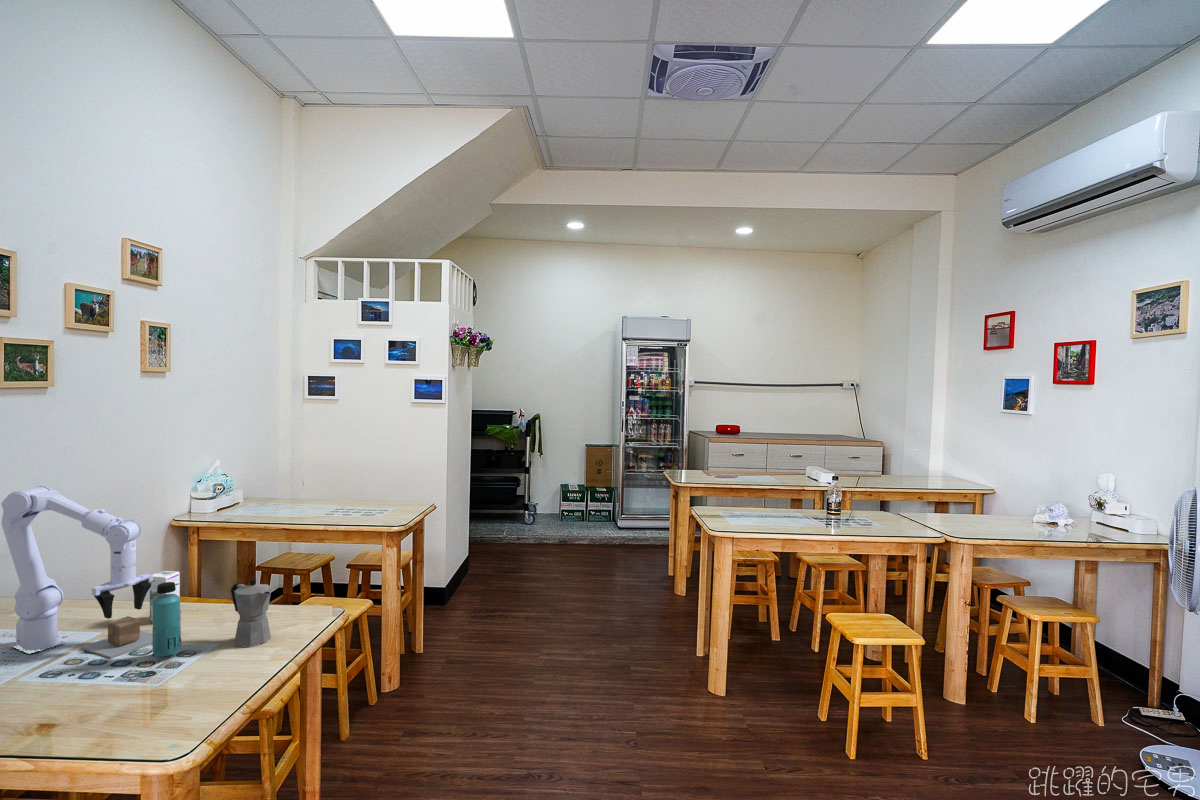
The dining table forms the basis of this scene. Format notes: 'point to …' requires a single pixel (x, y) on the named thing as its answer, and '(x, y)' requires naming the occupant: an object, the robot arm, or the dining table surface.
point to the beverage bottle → (166, 621)
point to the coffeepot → (251, 613)
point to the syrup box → (162, 578)
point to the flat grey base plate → (114, 650)
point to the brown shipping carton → (123, 630)
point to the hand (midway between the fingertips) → (123, 613)
